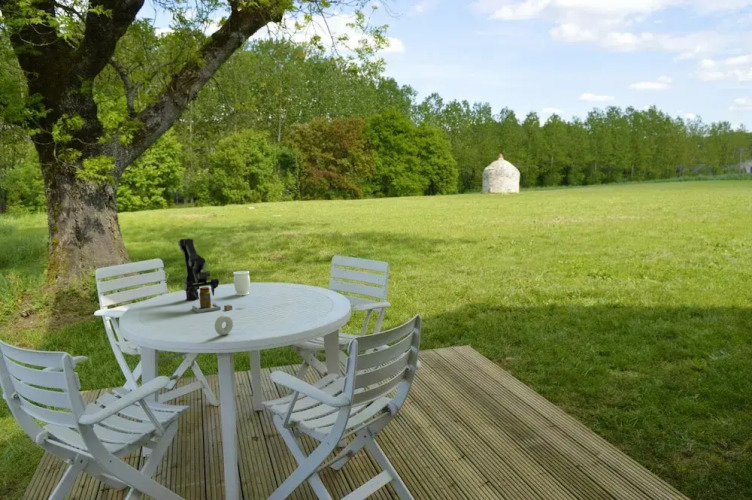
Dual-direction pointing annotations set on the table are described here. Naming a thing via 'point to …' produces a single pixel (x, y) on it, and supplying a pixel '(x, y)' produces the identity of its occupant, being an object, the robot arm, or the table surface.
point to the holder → (214, 308)
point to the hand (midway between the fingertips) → (205, 296)
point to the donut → (227, 328)
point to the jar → (241, 282)
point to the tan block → (227, 307)
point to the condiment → (205, 298)
